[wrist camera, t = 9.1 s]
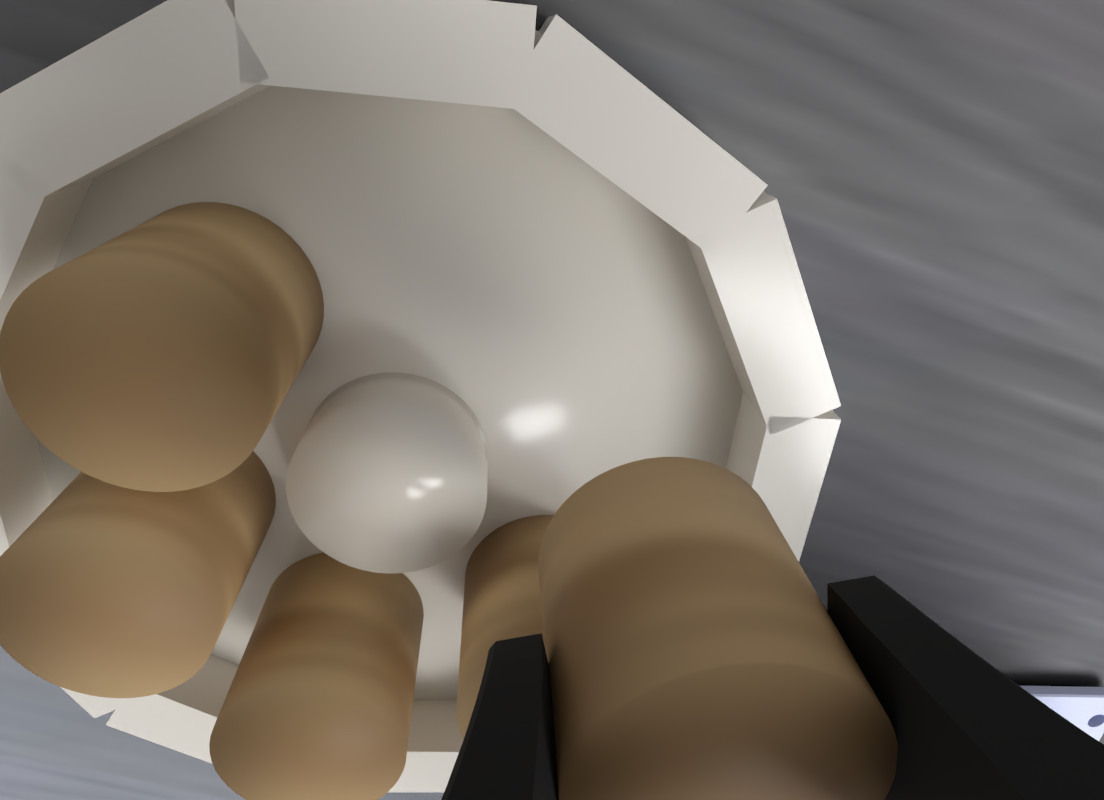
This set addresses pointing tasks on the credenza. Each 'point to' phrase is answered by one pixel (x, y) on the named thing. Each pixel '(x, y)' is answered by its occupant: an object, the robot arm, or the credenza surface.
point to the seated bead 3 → (323, 687)
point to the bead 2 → (697, 649)
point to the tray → (429, 289)
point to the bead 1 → (498, 601)
